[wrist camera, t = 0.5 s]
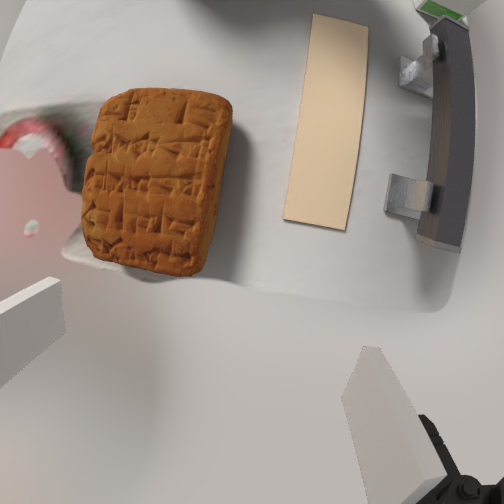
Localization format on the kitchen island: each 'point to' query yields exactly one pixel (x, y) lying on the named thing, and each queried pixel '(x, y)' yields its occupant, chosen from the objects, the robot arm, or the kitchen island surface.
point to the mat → (328, 124)
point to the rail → (450, 137)
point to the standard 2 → (420, 69)
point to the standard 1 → (408, 196)
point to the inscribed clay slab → (156, 178)
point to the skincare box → (447, 7)
